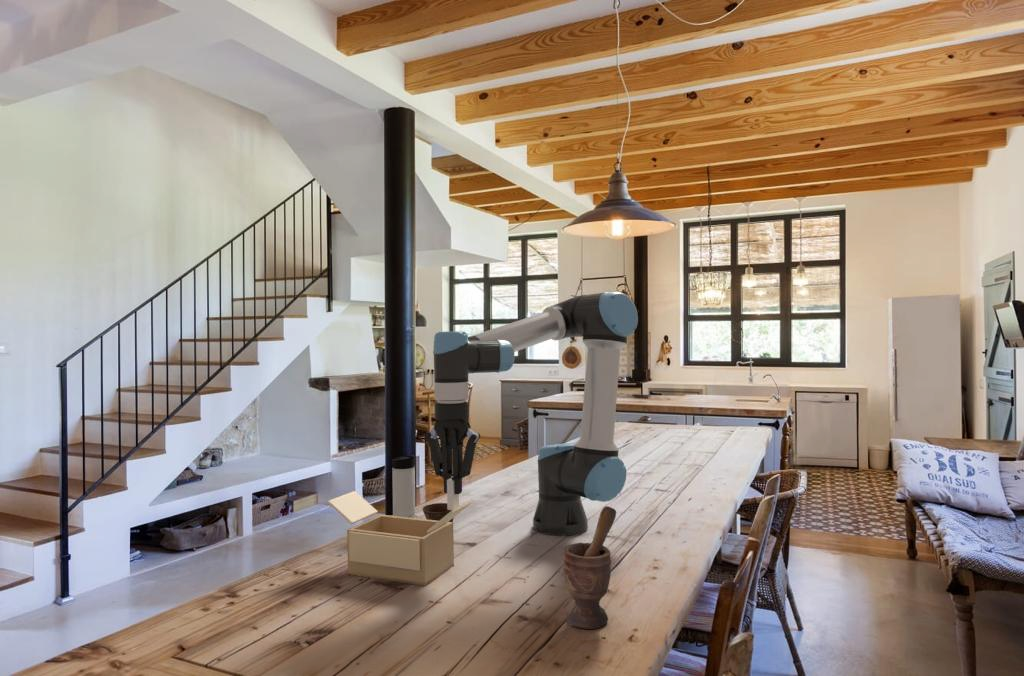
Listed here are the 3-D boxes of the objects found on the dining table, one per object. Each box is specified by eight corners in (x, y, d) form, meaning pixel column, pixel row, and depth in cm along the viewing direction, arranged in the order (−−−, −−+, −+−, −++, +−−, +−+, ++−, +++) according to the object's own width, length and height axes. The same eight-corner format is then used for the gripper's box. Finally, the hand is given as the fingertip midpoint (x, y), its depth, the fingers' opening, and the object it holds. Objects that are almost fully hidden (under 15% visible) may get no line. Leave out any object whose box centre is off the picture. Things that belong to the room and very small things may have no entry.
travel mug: (412, 529, 174) (410, 457, 174) (389, 528, 175) (388, 457, 175) (419, 523, 180) (418, 453, 180) (398, 522, 181) (397, 453, 181)
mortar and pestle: (582, 601, 124) (580, 500, 124) (624, 610, 119) (622, 505, 120) (557, 625, 114) (555, 515, 114) (601, 635, 109) (599, 521, 109)
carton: (455, 564, 146) (454, 521, 146) (423, 587, 132) (422, 540, 132) (382, 554, 153) (382, 513, 153) (345, 575, 140) (345, 530, 140)
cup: (466, 535, 165) (462, 499, 164) (452, 550, 157) (447, 512, 156) (436, 533, 168) (431, 498, 167) (421, 549, 160) (416, 511, 159)
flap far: (352, 522, 142) (328, 500, 144) (351, 524, 142) (327, 502, 145) (377, 511, 151) (354, 490, 154) (376, 513, 151) (354, 492, 154)
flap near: (448, 518, 144) (472, 499, 141) (450, 520, 144) (474, 500, 141) (426, 531, 134) (452, 510, 132) (427, 533, 134) (453, 512, 132)
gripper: (485, 400, 139) (487, 506, 139) (434, 399, 144) (435, 501, 144) (470, 403, 132) (472, 515, 132) (417, 402, 137) (418, 510, 137)
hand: (453, 508), depth 138 cm, fingers closed
